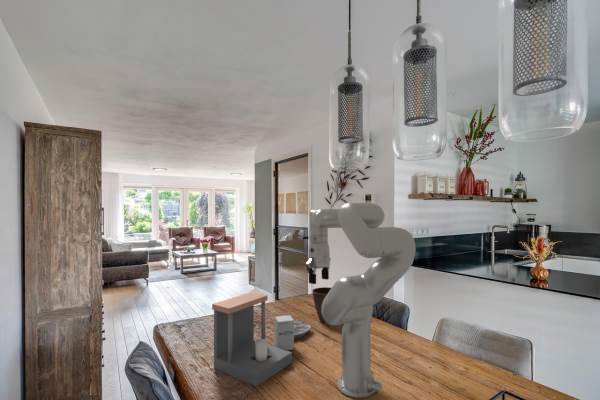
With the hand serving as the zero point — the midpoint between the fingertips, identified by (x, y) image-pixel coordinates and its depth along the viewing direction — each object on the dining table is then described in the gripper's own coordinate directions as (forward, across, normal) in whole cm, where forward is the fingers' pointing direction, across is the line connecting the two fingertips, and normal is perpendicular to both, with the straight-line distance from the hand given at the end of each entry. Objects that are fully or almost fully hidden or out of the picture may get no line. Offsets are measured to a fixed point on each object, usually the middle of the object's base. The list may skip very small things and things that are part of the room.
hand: (319, 281), depth 128 cm
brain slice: (+31, +14, +24) cm, 42 cm away
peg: (+30, -21, +13) cm, 39 cm away
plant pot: (+31, +37, +19) cm, 52 cm away
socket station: (+30, -21, +17) cm, 41 cm away
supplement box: (+31, -2, +17) cm, 35 cm away
